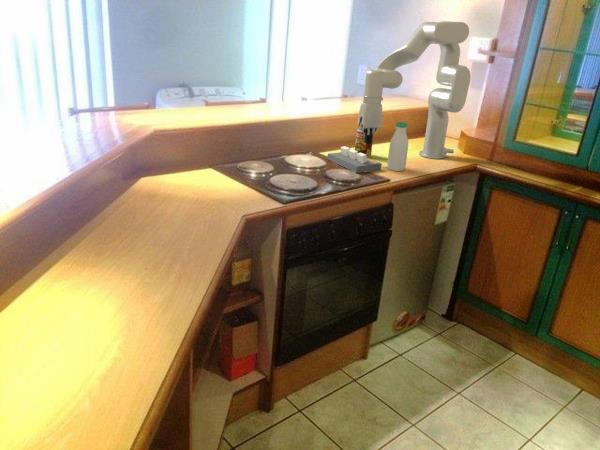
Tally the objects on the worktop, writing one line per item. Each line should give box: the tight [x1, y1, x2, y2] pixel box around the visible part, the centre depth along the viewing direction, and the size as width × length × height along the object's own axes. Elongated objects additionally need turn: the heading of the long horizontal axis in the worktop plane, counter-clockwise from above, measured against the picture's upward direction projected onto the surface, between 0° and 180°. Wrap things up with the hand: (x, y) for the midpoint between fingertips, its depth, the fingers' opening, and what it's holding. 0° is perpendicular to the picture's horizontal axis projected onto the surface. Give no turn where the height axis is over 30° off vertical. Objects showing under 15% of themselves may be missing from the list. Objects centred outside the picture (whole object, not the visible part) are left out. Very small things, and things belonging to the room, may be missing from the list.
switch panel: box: [327, 151, 383, 173], centre depth 213 cm, size 13×22×3 cm, turn 30°
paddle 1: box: [340, 145, 351, 156], centre depth 216 cm, size 2×4×3 cm, turn 30°
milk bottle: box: [386, 121, 409, 172], centre depth 207 cm, size 8×8×20 cm
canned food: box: [354, 128, 374, 159], centre depth 227 cm, size 8×8×12 cm
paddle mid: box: [349, 148, 358, 160], centre depth 211 cm, size 2×4×3 cm, turn 30°
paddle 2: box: [357, 152, 367, 163], centre depth 207 cm, size 2×4×3 cm, turn 30°
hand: (368, 143), depth 213 cm, fingers closed
